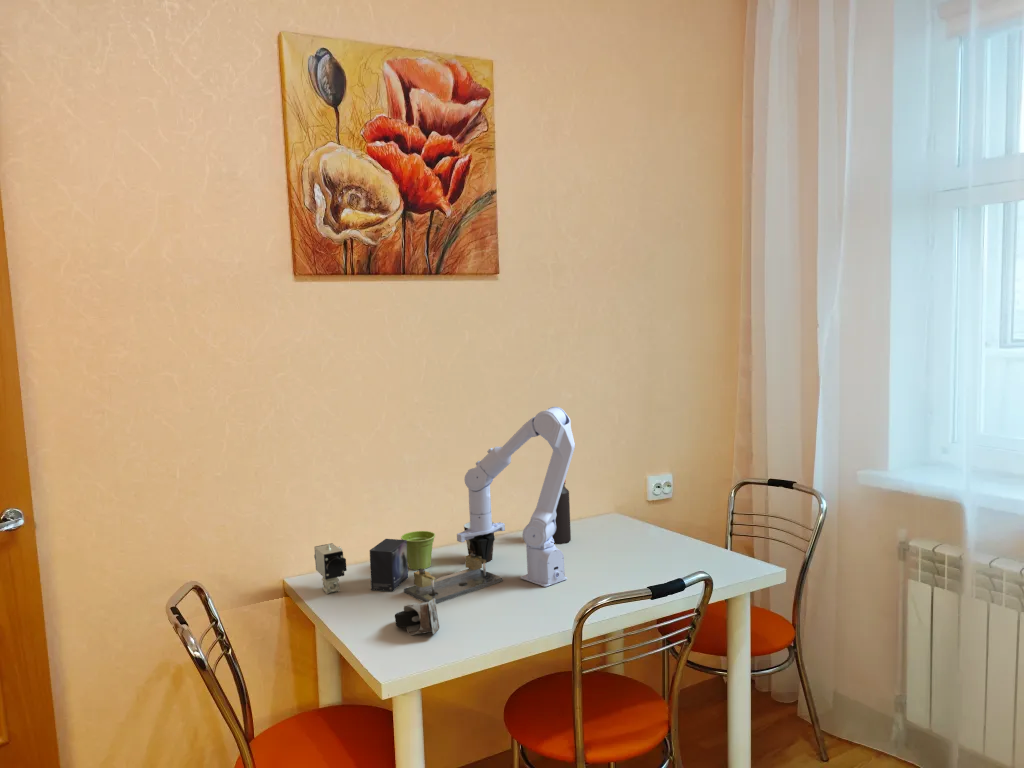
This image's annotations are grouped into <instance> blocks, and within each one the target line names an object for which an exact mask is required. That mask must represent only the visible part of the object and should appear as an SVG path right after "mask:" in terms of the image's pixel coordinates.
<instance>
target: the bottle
mask: <svg viewBox="0 0 1024 768" xmlns="http://www.w3.org/2000/svg"><path fill="white" fill-rule="evenodd" d="M565 485H566V479H565V482H564V485H563V488H562V492H561V495H560V498H559V501H558V505H557V508H556V513H557V516H556V519H555V522H556V531H555V533H554V535H553V536H552V537H553V539H554V543H557V544H556V545H558V544H559V545H562V543H564V544H567V543H569V541H570V542H571V541H572V536H571V533H572V530H571V512H570V511H571V510H570V509H571V507H570V491H569V489H568V488H566V486H565Z"/></svg>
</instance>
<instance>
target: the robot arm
mask: <svg viewBox="0 0 1024 768" xmlns="http://www.w3.org/2000/svg"><path fill="white" fill-rule="evenodd" d="M571 423H572V420H571V418H570V417H569V415H568V414H567V413H566V411H565V410H564V409H563V408H562V407H559V406H551V407H548V408H547V409H545V410H542V411H540V412H538V413H536V414H535V416H533V417H532V418H530V419H528V421H526V422H524V424H523V425H522V426H521V427H520V428H519V429H518V430H517V431H516V432H515V433H514V434H513V435H512V436H511V437H510V438H509V439H508V440H507V441H506V443H504V445H503V446H494V447H491V448H488V450H487V454H486V455H485V456H484V457H483V458H481V460H478V461H477V462H475V467H472V468H469V469H468V470H467V472H466V473H465V475H464V484H465V486H466V488H468V507H469V522H470V528H469V529H467V530H464V531H461V532H458V533H456V541H457V542H458V543H459V542H460V543H464V542H466V540H469V541H470V542H471V544H472V546H473V548H474V550H475V552H476V555H478V556H481V557H482V559H485V560H486V563H485V564H487V563H488V562H487V560H488V555H489V551H490V548H491V546H492V543H493V544H494V542H493V541H495V539H496V537H495V533H497V532H504V531H506V525H505V523H504V522H501V521H500V522H494V524H492V522H493V521H492V519H493V518H492V501H491V500H492V499H491V497H492V496H491V484H492V483H493V481H494V479H495V478H497V476H499V475H500V474H501V472H503V471H504V470H506V468H507V467H508V466H509V465H510V464H511V463H512V462H511V461H512V455H513V454H514V453H516V451H517V450H519V449H520V448H521V447H523V445H525V444H526V443H527V442H528V441H529V440H530V439H531V438H536V437H538V436H540V437H542V439H544V441H547V442H548V445H550V448H551V449H552V454H551V456H550V461H549V463H548V467H547V469H546V474H545V477H544V479H543V483H542V487H541V491H540V494H539V497H538V500H537V504H536V508H535V509H534V511H533V513H532V514H531V517H530V520H529V522H528V523H527V525H526V526H525V527H524V528H523V531H522V539H523V541H524V543H525V544H526V545H525V547H526V567H527V568H526V569H527V574H523V575H521V576H520V577H519V578H520V579H521V580H524V581H527V582H530V583H533V584H535V585H537V586H542V587H545V588H546V587H549V586H551V585H555V584H557V583H560V582H563V581H566V580H568V577H567V576H565V574H566V573H565V556H564V553H563V551H562V550H561V549H559V548H558V547H557V546H556V545H555V544H554V539H553V537H552V536H553V535H554V533H555V531H556V522H555V519H556V516H557V513H556V508H557V505H558V501H559V498H560V495H561V492H562V488H563V485H564V482H565V480H566V478H567V474H568V472H569V468H570V465H571V461H572V459H573V455H574V453H575V452H574V451H575V449H576V448H575V447H576V444H575V439H574V434H573V430H572V426H571V425H572V424H571ZM565 483H566V482H565ZM491 533H494V535H491ZM482 565H483V562H482Z"/></svg>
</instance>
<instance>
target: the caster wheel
mask: <svg viewBox="0 0 1024 768" xmlns="http://www.w3.org/2000/svg"><path fill="white" fill-rule="evenodd" d="M394 619H395V626H396V627H398V628H406V631H407V633H408V634H409V635H410V636H414V635H419V634H425V633H426V634H427V633H430V632H432V635H435V633H437V632H438V631H439V629H440V624H439V617H438V611H437V603H435V598H433V599H432V600H431V601H429V602H424V601H423V602H420V603H413V604H407V605H404V606H403V610H402V611H399V612H396V613H395V614H394Z"/></svg>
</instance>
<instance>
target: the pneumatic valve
mask: <svg viewBox="0 0 1024 768" xmlns="http://www.w3.org/2000/svg"><path fill="white" fill-rule="evenodd" d="M313 556H314V561H315V571H317V573H318V574H319V575H320V576H322V577H321V581H322V585H323V587H322V591H324V592H325V594H328V593H329V594H330V593H335V592H337V591H338V592H339V591H340V590H341V589H340V584H339V582H340V579H339V578H340V577H344V576H345V572H347V570H348V569H347V559H346V558H345V557H344V551H343V548H342V547H341V546H336V545H335V544H334V543H328V544H321V545H316V546H314V555H313ZM329 594H328V595H329Z"/></svg>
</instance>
